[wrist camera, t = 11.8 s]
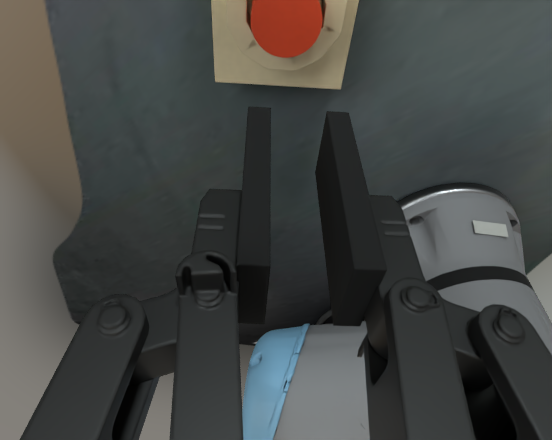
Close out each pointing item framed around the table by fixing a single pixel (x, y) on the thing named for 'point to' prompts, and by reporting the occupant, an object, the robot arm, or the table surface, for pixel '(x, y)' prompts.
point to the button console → (276, 70)
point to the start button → (286, 25)
